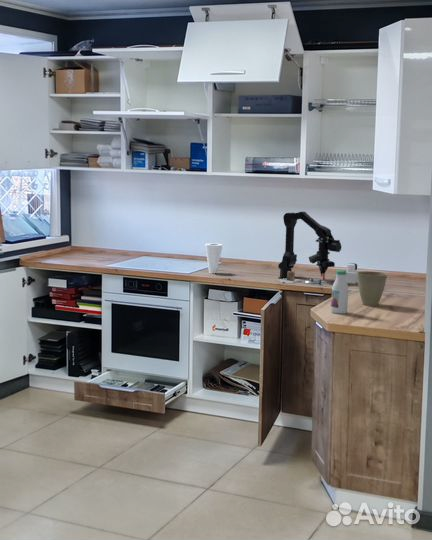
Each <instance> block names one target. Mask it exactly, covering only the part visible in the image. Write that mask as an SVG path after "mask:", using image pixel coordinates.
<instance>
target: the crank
mask: <svg viewBox="0 0 432 540" xmlns="http://www.w3.org/2000/svg"><path fill="white" fill-rule="evenodd" d="M325 277H326V272H325V273H322V276H321V278H310V279H304V280H303V281H304V283H308V284H307V285H309V284H318V283H319V279H321V282H324V281H325V279H326V278H325Z"/></svg>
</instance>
